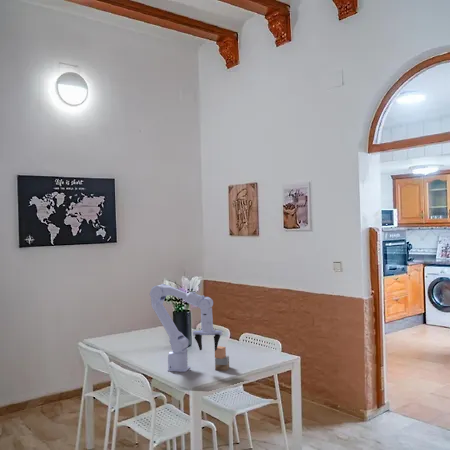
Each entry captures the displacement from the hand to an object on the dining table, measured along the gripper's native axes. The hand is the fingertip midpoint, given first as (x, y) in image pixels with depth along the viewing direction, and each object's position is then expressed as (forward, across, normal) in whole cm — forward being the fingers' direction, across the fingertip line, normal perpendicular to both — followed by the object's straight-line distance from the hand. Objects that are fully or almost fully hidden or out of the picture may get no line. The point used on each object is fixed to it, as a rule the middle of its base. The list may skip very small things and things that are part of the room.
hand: (208, 349), depth 239 cm
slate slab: (+8, +5, +6) cm, 11 cm away
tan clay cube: (+5, +5, +5) cm, 8 cm away
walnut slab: (+11, +5, +6) cm, 13 cm away
